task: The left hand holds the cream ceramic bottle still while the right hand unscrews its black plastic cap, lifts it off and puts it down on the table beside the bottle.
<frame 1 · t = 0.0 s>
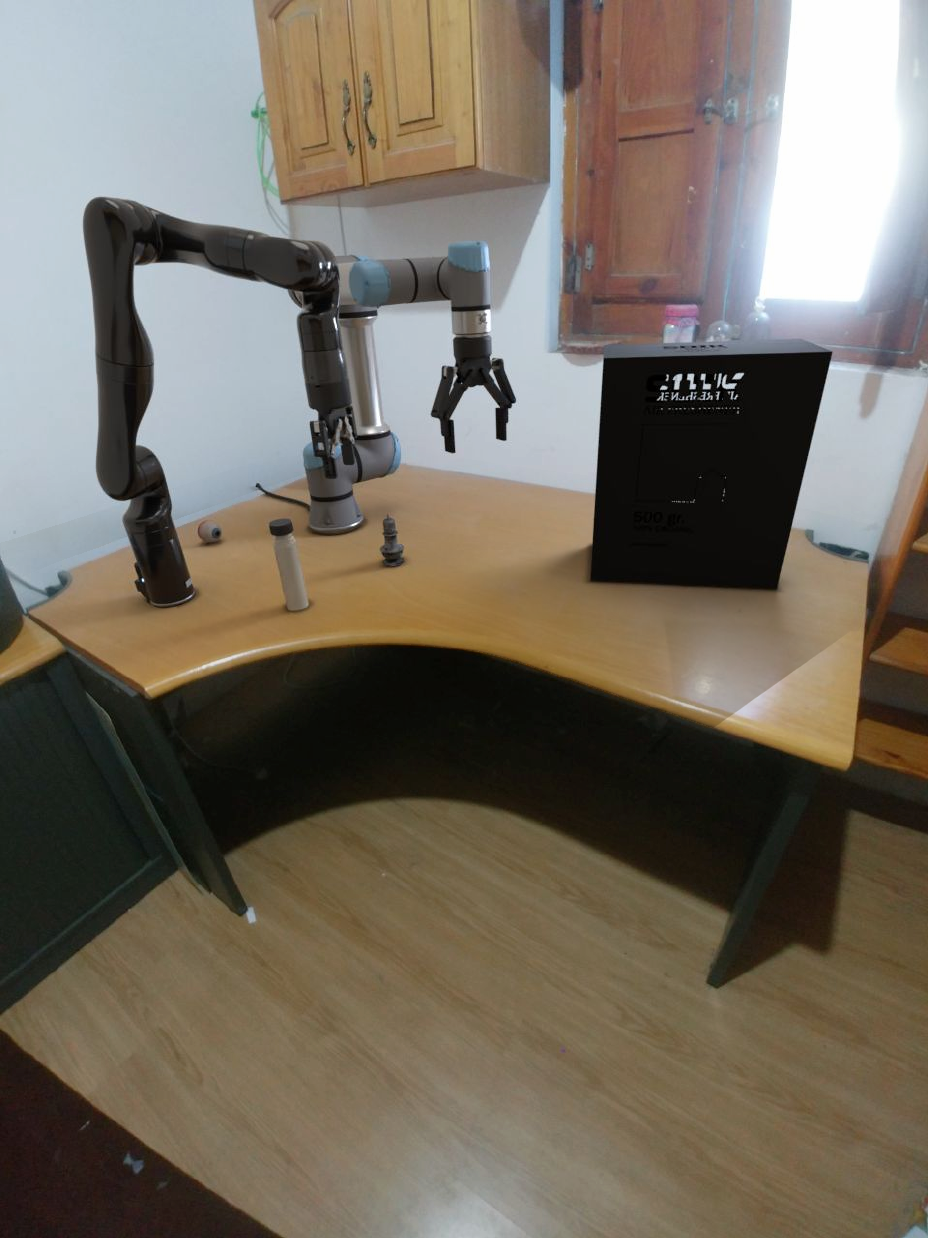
left hand: (341, 471, 111), 29 cm above the table, tool pointing down, fingers open, 8 cm apart
right hand: (476, 445, 127), 28 cm above the table, tool pointing down, fingers open, 13 cm apart
grey tall tiered piece: (393, 562, 146), on the table
cardboard box: (676, 565, 136), on the table
cap: (280, 523, 119), point 19 cm above the table, screwed on, not yet turned
bottle: (298, 605, 129), on the table
eyeball: (213, 542, 163), on the table
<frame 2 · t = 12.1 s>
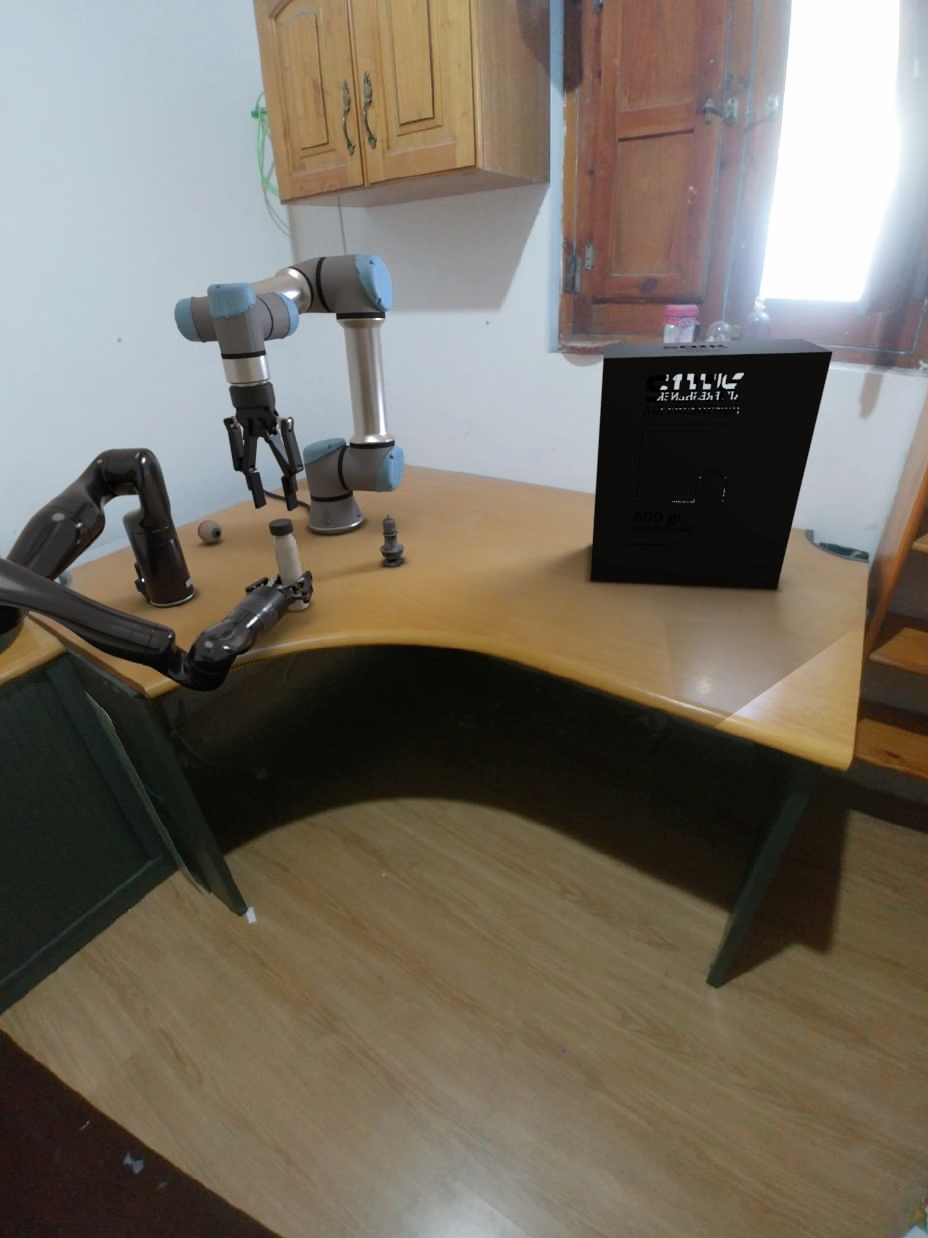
left hand: (298, 574, 128), 6 cm above the table, tool horizontal, fingers closed on bottle, 4 cm apart
right hand: (276, 507, 118), 22 cm above the table, tool pointing down, fingers open, 7 cm apart
bottle: (298, 605, 129), on the table, touching left hand
everything else where it was.
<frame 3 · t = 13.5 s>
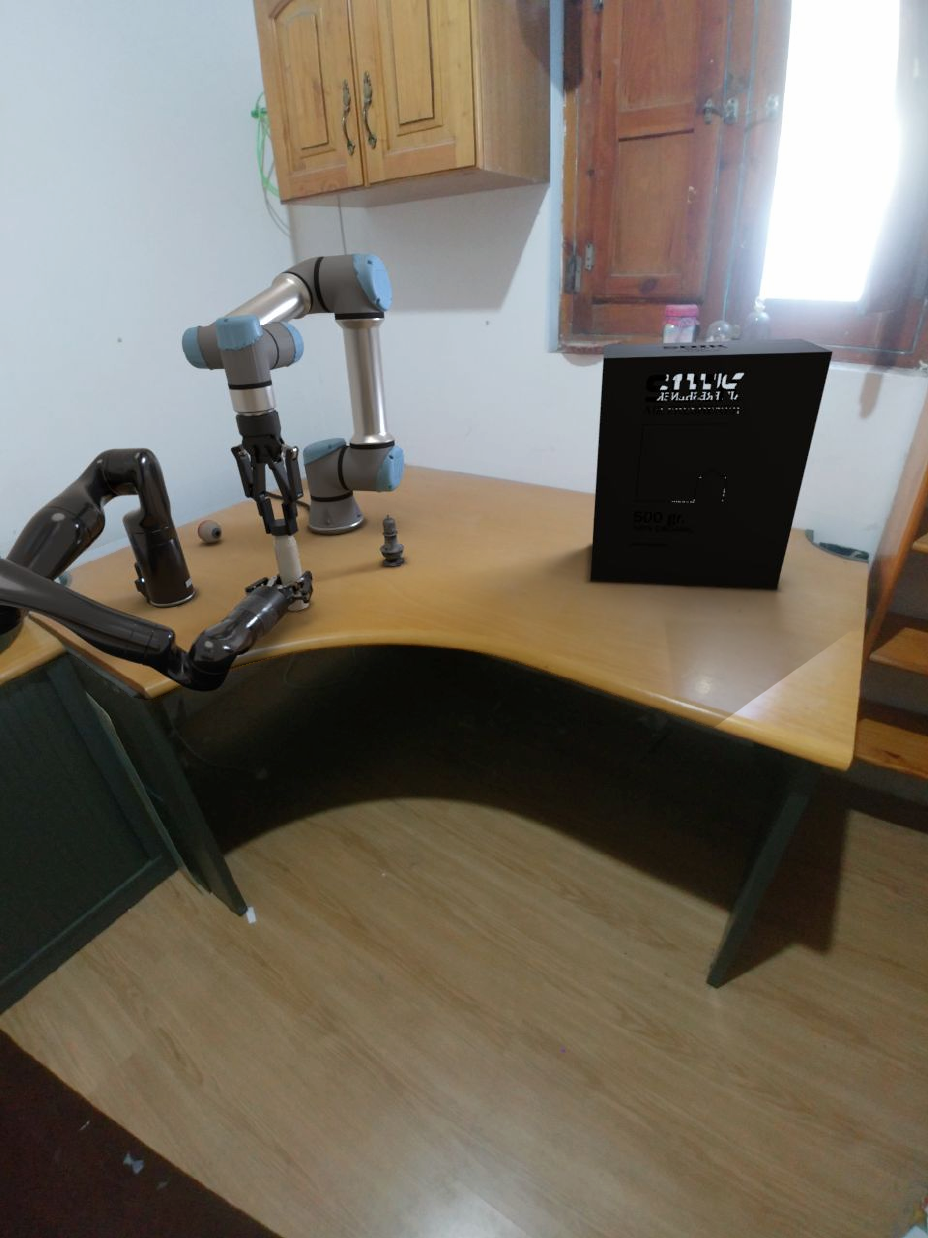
left hand: (298, 574, 128), 6 cm above the table, tool horizontal, fingers closed on bottle, 4 cm apart
right hand: (282, 532, 120), 17 cm above the table, tool pointing down, fingers closed on cap, 4 cm apart
cap: (280, 523, 119), point 19 cm above the table, screwed on, not yet turned, touching right hand
bottle: (298, 605, 129), on the table, touching left hand
everything else where it was.
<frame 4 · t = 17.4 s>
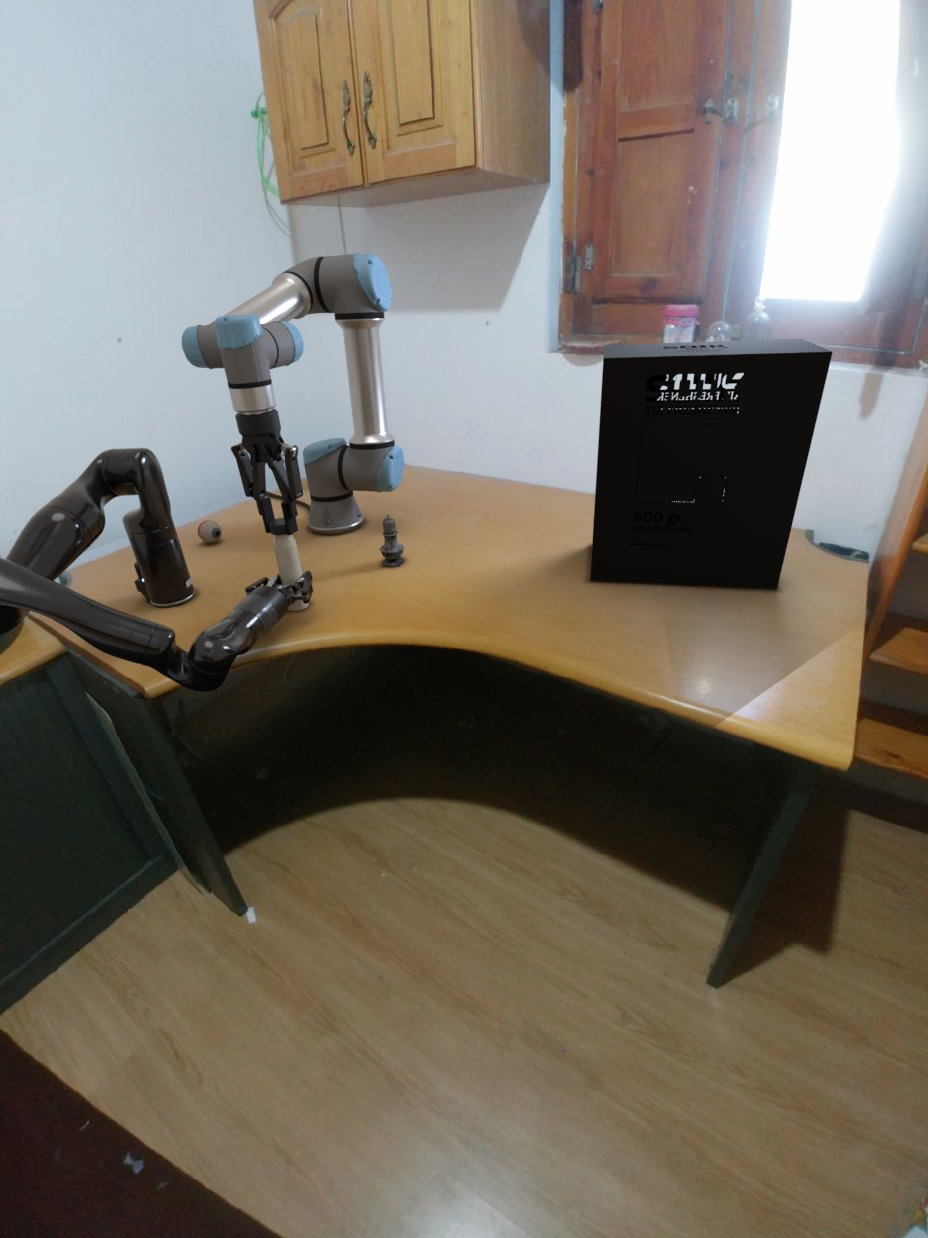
left hand: (298, 574, 128), 6 cm above the table, tool horizontal, fingers closed on bottle, 4 cm apart
right hand: (282, 531, 120), 17 cm above the table, tool pointing down, fingers closed on cap, 4 cm apart
cap: (280, 522, 119), point 19 cm above the table, turned 137° so far, risen 0.2 cm, still on its thread, touching right hand
bottle: (298, 605, 129), on the table, touching left hand
everything else where it was.
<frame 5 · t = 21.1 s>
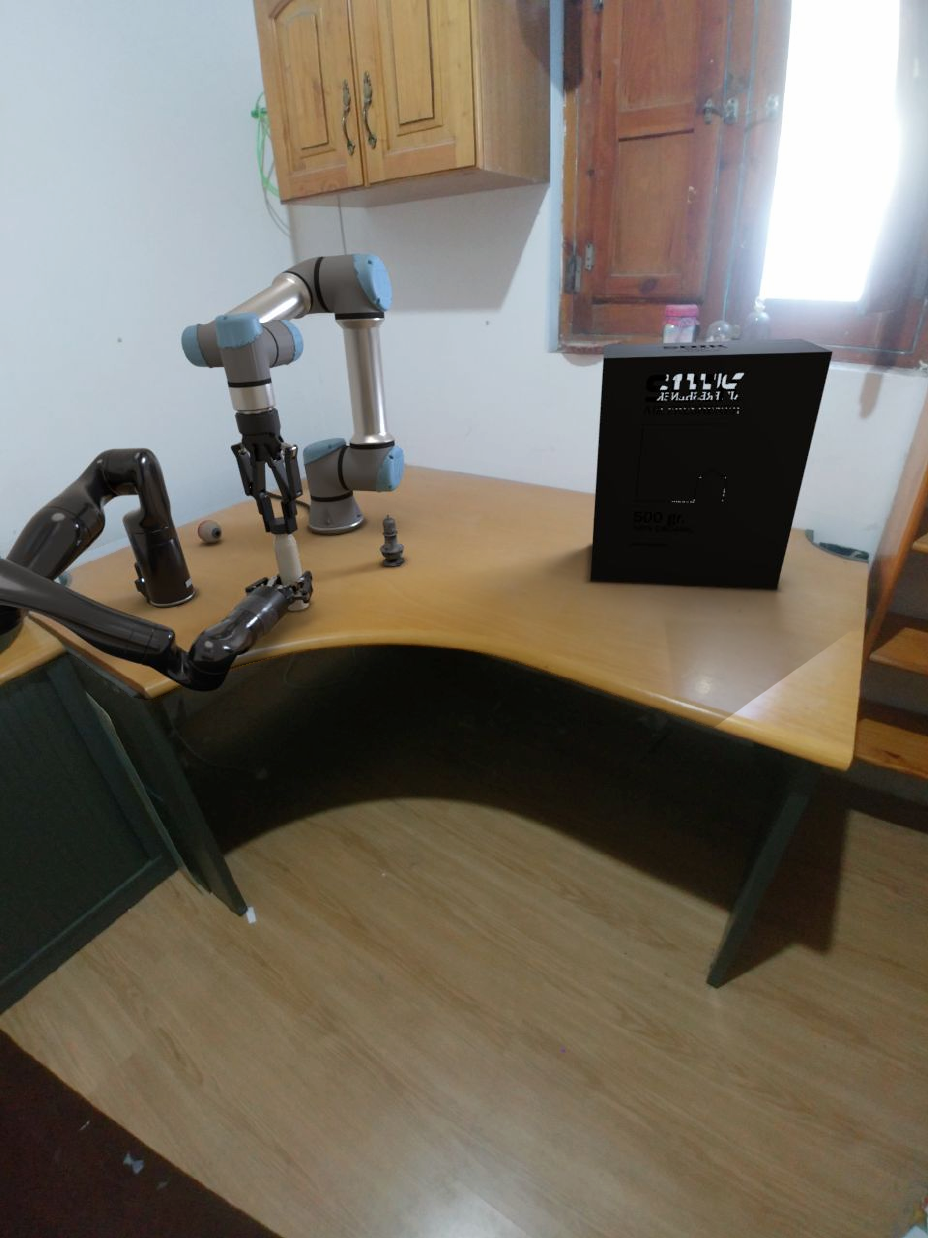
left hand: (298, 574, 128), 6 cm above the table, tool horizontal, fingers closed on bottle, 4 cm apart
right hand: (281, 530, 120), 17 cm above the table, tool pointing down, fingers closed on cap, 4 cm apart
cap: (280, 522, 119), point 19 cm above the table, turned 275° so far, risen 0.3 cm, still on its thread, touching right hand
bottle: (298, 605, 129), on the table, touching left hand
everything else where it was.
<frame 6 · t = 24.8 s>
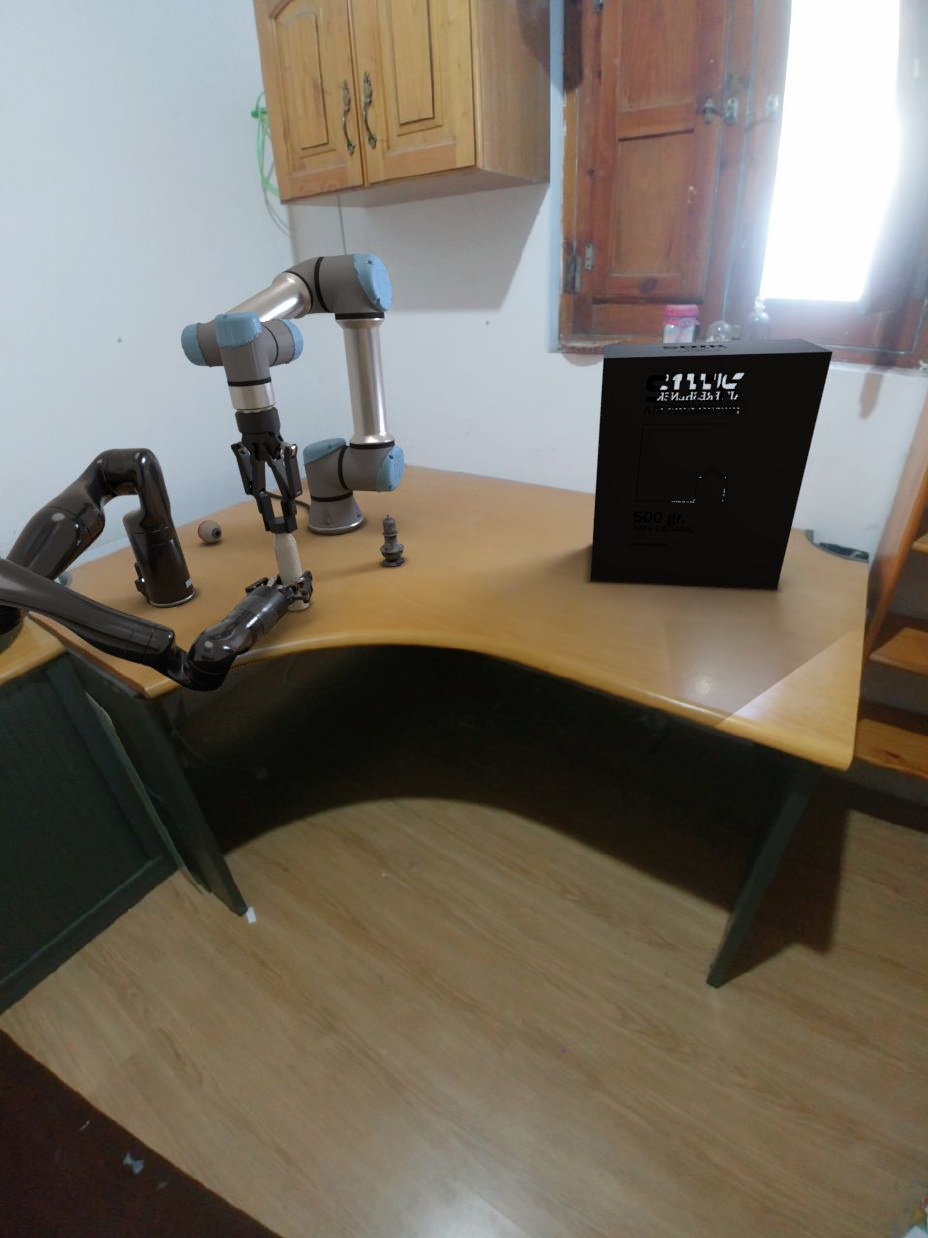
left hand: (298, 574, 128), 6 cm above the table, tool horizontal, fingers closed on bottle, 4 cm apart
right hand: (281, 529, 120), 17 cm above the table, tool pointing down, fingers closed on cap, 4 cm apart
cap: (279, 521, 119), point 19 cm above the table, turned 412° so far, risen 0.5 cm, still on its thread, touching right hand
bottle: (298, 605, 129), on the table, touching left hand
everything else where it was.
when the right hand's fingers open (1 cm above the table, at t = 30.9 s): cap drops 1 cm, point 2 cm above the table.
when the left hand's fingers open (6 cm above the table, at t = 32.1 s): bottle stays where it is, on the table.
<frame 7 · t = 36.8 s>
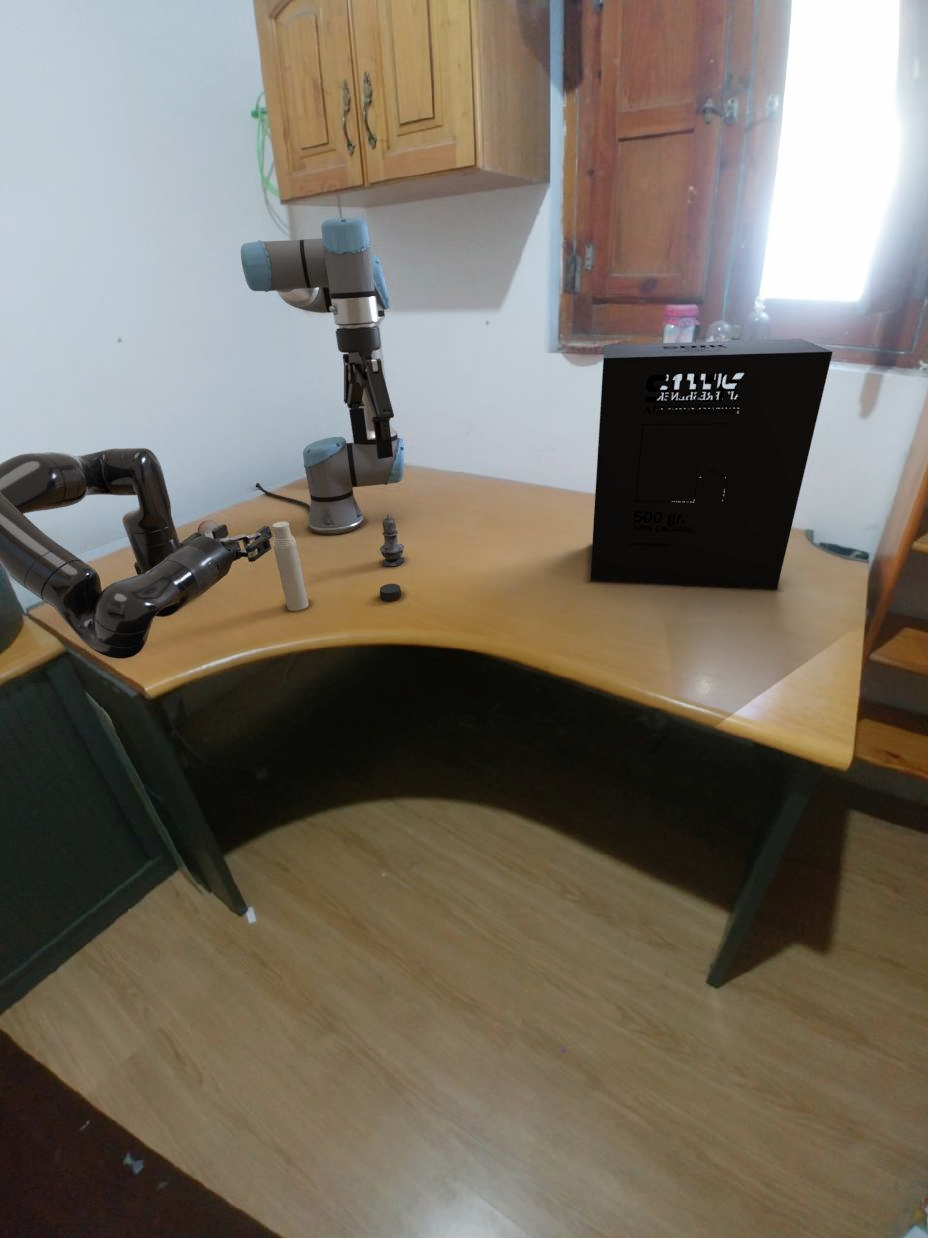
left hand: (247, 530, 108), 22 cm above the table, tool horizontal, fingers open, 8 cm apart
right hand: (372, 449, 114), 32 cm above the table, tool pointing down, fingers open, 13 cm apart
cap: (390, 589, 129), point 2 cm above the table, off its thread
bottle: (298, 605, 129), on the table
everything else where it was.
at the end: cap came off its thread; cap point 1.8 cm above the table; the left hand is holding nothing; the right hand is holding nothing; bottle tilted 0°; bottle moved 0.0 cm from its start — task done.
